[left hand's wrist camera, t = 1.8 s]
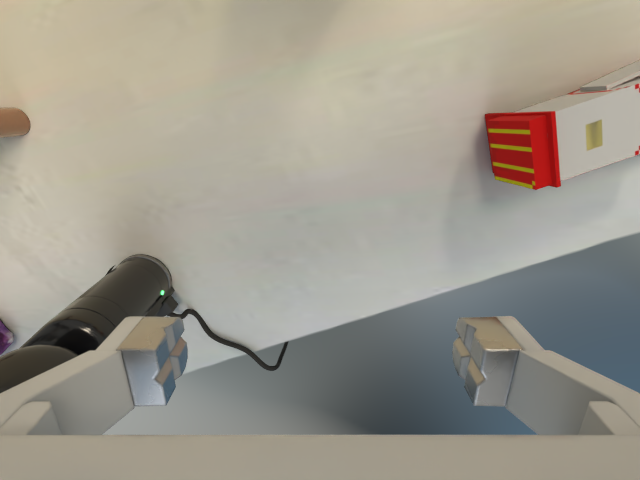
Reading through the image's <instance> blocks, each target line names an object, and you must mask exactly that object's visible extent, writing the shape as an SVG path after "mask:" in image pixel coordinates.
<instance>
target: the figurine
mask: <svg viewBox="0 0 640 480" xmlns="http://www.w3.org/2000/svg"><path fill="white" fill-rule="evenodd" d="M13 341H14V335H13V333H12V332H10V331H9V330H8V329H7V328H6V327H5V326H4V324H3V323H2V322H1V320H0V355H1V354H2V353H3V352H4V351H5V350H6V349H7V348H8V347H9V346H10V345H11V343H12V342H13Z"/></svg>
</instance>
